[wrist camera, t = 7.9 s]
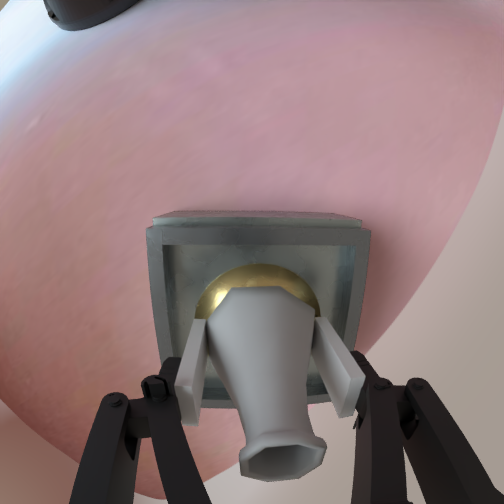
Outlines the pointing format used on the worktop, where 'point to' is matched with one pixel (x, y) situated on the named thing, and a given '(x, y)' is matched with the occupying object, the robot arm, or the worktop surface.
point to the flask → (267, 378)
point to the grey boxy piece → (254, 274)
